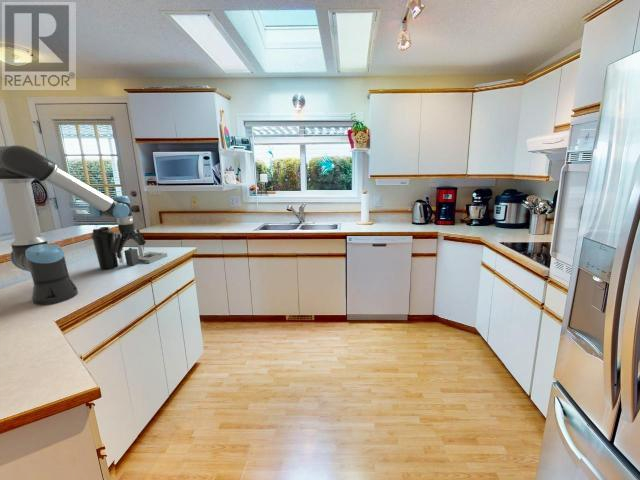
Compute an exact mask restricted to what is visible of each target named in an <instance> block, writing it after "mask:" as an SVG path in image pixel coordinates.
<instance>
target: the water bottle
mask: <svg viewBox="0 0 640 480" xmlns="http://www.w3.org/2000/svg"><path fill="white" fill-rule="evenodd" d="M109 228H110V226H102V227H100V228H97V229H96V228H94V229H92V234H91V239H92V243H93V245H94V248H95V254H96V257H97V260H98V264H99V269H100V270H101V271H108V270H113V269H116V268H118V267H119V263H118V262H119V260H118V257H117V253H116V252H113V251H112V250H113V246H114V242H115V232H114V231H112V230H111V229H109Z"/></svg>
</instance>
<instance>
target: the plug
mask: <svg viewBox="0 0 640 480" xmlns="http://www.w3.org/2000/svg"><path fill="white" fill-rule="evenodd" d="M123 253H124V259H125V262H126V266H128V267H135V266H137V265H139V264H140V263H141V262H139V257H138V256H139V251H138V249H137V248H133V247H129V248H128V249H125V250H124V251H123Z"/></svg>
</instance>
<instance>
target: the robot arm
mask: <svg viewBox="0 0 640 480" xmlns="http://www.w3.org/2000/svg"><path fill="white" fill-rule="evenodd" d="M34 181H38V182H40V183H44V182H46V183H47V184H49V185H51V186H53V187H55V188H57V189H58V190H61V191H63V192H65V193H67V194H69V195H70V196H72V197H74V198H77V199H78V200H80V201H82V202H84V203H86V204H88V212H89V214H90V216H91V217H92V218H102V217H107V218H114V219H116V222H117V224H118V225H117V227H118V231H119V232H120V233H119V234H118V233H114V246H113V250H112V251H113V252H116V255H117V259H118V262H119V263H120V264H125V256H124V254H123V253H124V251H122V250H123V248H124V245H125V244H126V242H128V241H129V240H133V241H134V242H135V243H136V244H138V245H137V248H138V249H137V250H138V256H139V255H140V256H144V253H145V252H144V251H145V250H144V246H145V244H146V240H145V239H144V237H143V236H142V234H141V233H140V230H139V229H138V228H137V229H135V225H134V224H135V223H134V218H133V213H132V212H133V211H132V205H131V201H130V198H129V196H128V195H116V196H115V195H114V196H113V197H112V198H111V197H109V196H107V195H106V194H105V193H102V192H101V191H99V190H97V189H95V188H94V187H92V186H90V185H88V184H87V183H85V182H83V181H82V180H80V179H78V178H76V177H75V176H73V175H72V174H69V173H68V172H66V171H65V170H62V169H61V168H59V167H58V165H57V164H56V163H55V162H54V161H52V160H50V159H49V158H47V157H45V156H44V155H42V154H41V153H39V152H37V151H35V150H33V149H32V148H29V147H27V146H23V145H1V146H0V183H1V184H2V188H3V192H4V197H5V201H6V207H7V209H8V210H7V211H8V213H9V219H10V223H11V227H12V231H13V236H14V240H13V241H12V242H11V243H10V245H11V252H10V256H9V258H10V262H11V263H12V264H13V265H14V266H15V267H16V268H18V269H20V270H22V271H25V272H29V273H30V275H31V278H32V279H31V280H32V282H33V288H32V289H33V290H32V296H31V301H32V303H33V305H36V306H37V305H38V306H47V305H52V304H57V303H60V302H64V301H67V300H69V299H72V298H74V297H76V296H77V295H78V293H79V291H78V288H77V286H76V285H75V283H74V282H73V280H72V279H71V278H70V275H69V270H68V267H67V262H66V257H65V252H64V251H63V248H62V247H61V246H60V245H58V244H56V243H48V240H47V239H46V238H45V237H43V236H42V231H41V228H40V227H41V226H40V221H39V217H38V212H37V208H36V207H37V206H36V201H35V197H34V193H33V187H32V183H33V182H34ZM119 263H118V264H119Z"/></svg>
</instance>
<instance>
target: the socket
mask: <svg viewBox="0 0 640 480" xmlns="http://www.w3.org/2000/svg"><path fill="white" fill-rule="evenodd" d="M138 257H139V263H141V264H151V263H154V262H157V261H159V260H161V259H164V258H167V257H168V253H166V252H164V251H162V252H161V251H160V252H158V251H157V252H155V251H148V252H144V256H140V255H139V254H138Z"/></svg>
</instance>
